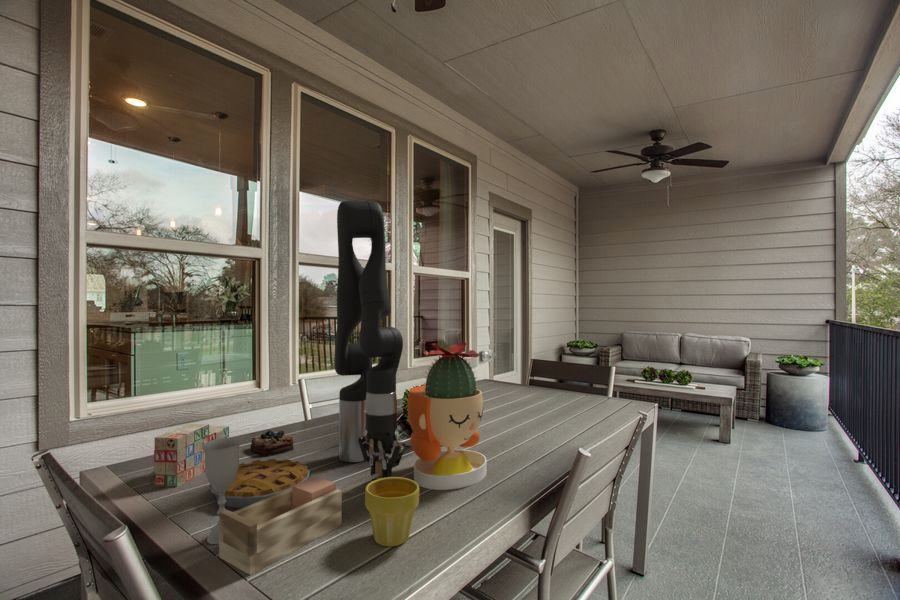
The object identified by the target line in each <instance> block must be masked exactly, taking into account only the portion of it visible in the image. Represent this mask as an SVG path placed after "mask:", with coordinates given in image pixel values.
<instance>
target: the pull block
mask: <svg viewBox="0 0 900 600" xmlns="http://www.w3.org/2000/svg"><path fill="white" fill-rule="evenodd" d="M382 469H383V465H382V460H381V459H380V460H376V461H375V474H373V475H371V474H370V476H368V477H364V478H363V479H360V480H359V481H356V482H354V483H352V484H350V485H348V486H345V487H343V488H341V489H340V490H341V491H342V494H344V493H347V492H348V491H351V490H353V489H355V488H357V487H359V486H362V485H363V484H365V483H367V482H369V481H370V482H371V481H372V479H374V478H375V480H377V479H381V478H382ZM336 485H337V484H336V482H335V481H331V480H328V479H324V478H322V477H319V476H313V477H312V478H309V479H307V480H305V481H304V482H301V483H299V484H296V485H294V486H292V510H293V509H295V508H297V507H300V506H302V505H304V504H306V503H308V502H311V501H313V500H315V499H317V498H319V497H322V496H324V495H326V494H328V493H330V492H333V491H335V490H337V487H336Z"/></svg>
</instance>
